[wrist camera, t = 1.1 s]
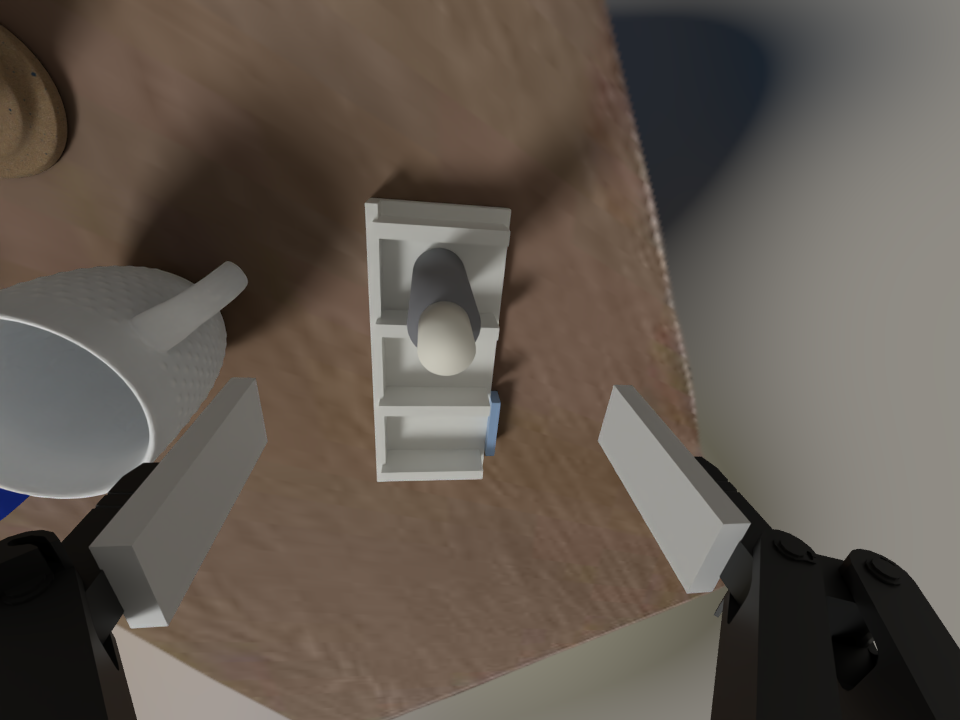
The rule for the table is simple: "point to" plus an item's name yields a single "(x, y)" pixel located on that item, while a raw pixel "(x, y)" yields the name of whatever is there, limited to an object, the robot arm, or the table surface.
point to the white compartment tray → (395, 363)
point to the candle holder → (27, 112)
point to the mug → (104, 372)
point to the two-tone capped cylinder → (442, 313)
